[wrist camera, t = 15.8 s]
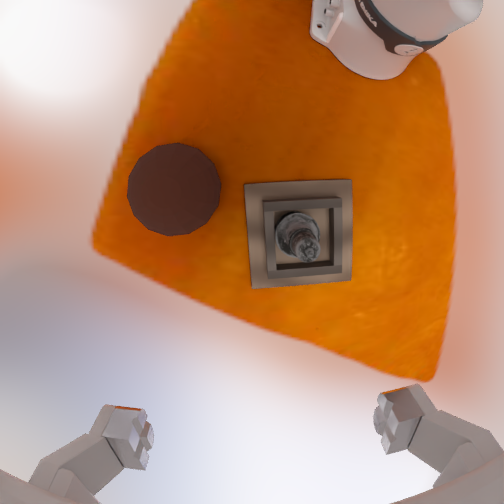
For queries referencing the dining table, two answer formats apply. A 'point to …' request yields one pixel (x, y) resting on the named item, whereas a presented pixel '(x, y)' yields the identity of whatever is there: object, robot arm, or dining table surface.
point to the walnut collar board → (316, 206)
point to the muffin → (174, 189)
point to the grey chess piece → (298, 236)
